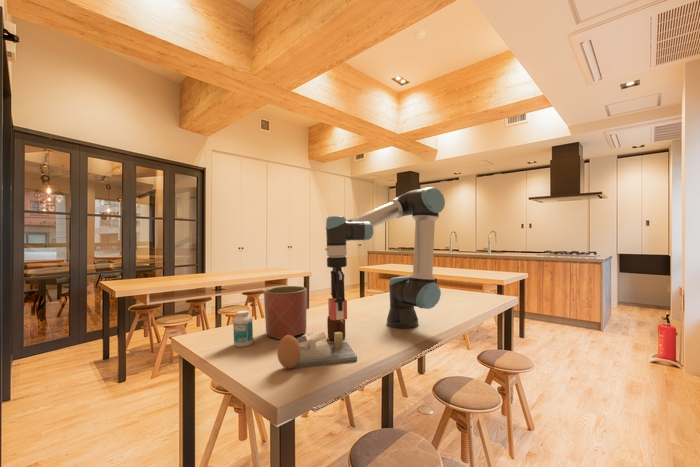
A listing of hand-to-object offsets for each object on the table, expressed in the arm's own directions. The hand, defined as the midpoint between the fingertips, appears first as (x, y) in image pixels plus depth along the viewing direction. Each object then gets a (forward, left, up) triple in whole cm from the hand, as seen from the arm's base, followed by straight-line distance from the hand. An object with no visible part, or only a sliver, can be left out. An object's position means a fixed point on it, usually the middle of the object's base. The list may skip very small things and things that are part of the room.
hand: (338, 316), depth 121 cm
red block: (0, 0, 0) cm, 0 cm away
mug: (-2, -12, -13) cm, 18 cm away
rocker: (+11, +6, -5) cm, 14 cm away
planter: (+18, -28, -13) cm, 36 cm away
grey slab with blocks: (+7, +4, -13) cm, 15 cm away
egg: (+19, +11, -13) cm, 25 cm away
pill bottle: (+36, -19, -13) cm, 43 cm away
